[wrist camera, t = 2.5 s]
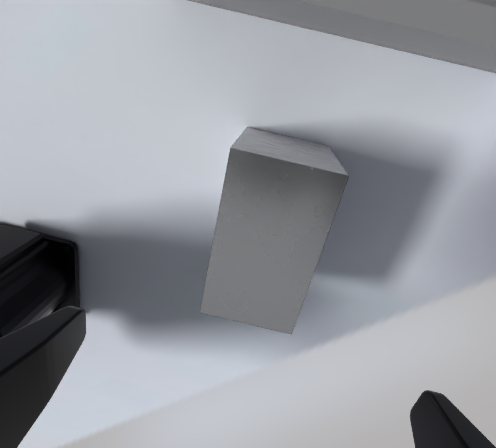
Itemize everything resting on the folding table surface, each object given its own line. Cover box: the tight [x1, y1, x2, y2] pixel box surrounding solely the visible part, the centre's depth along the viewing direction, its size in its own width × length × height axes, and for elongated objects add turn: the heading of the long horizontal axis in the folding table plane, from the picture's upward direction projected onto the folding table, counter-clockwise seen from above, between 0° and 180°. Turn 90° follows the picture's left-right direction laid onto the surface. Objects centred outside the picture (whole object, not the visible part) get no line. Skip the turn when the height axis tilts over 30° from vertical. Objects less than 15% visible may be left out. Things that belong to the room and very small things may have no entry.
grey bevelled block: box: [200, 127, 349, 334], centre depth 16 cm, size 8×4×6 cm, turn 168°
